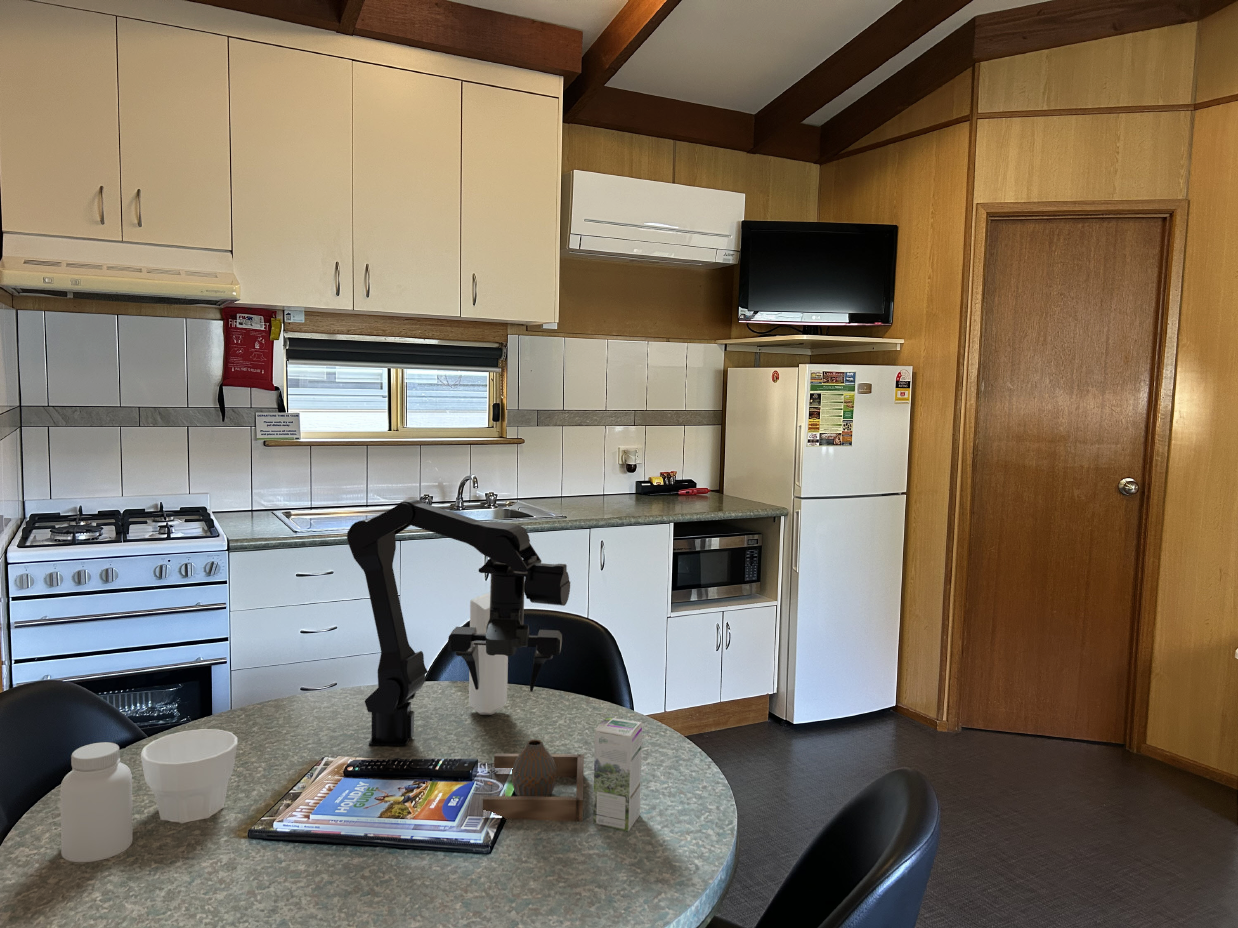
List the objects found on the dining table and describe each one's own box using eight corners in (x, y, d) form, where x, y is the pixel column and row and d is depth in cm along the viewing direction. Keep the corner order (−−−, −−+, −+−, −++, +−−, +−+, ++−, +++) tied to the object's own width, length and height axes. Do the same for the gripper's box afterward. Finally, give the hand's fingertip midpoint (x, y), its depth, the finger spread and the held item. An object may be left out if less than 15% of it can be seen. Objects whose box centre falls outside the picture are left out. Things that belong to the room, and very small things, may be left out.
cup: (183, 795, 131) (182, 724, 130) (256, 805, 129) (256, 733, 128) (120, 835, 119) (119, 758, 118) (200, 847, 116) (199, 768, 116)
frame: (482, 822, 125) (482, 798, 125) (494, 774, 141) (494, 753, 141) (582, 823, 126) (582, 800, 125) (583, 775, 142) (583, 754, 141)
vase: (554, 808, 130) (555, 752, 129) (508, 807, 130) (509, 750, 129) (558, 787, 137) (559, 734, 136) (514, 786, 137) (515, 732, 136)
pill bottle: (82, 885, 107) (79, 767, 106) (49, 865, 111) (46, 752, 110) (145, 857, 114) (143, 746, 113) (112, 839, 118) (110, 732, 117)
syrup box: (641, 814, 129) (643, 720, 128) (628, 833, 123) (631, 734, 122) (605, 807, 131) (607, 714, 129) (591, 826, 125) (593, 728, 124)
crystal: (463, 722, 163) (465, 597, 161) (469, 709, 170) (471, 588, 168) (503, 723, 163) (505, 598, 161) (507, 709, 170) (509, 589, 168)
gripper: (442, 609, 138) (440, 705, 139) (559, 614, 138) (556, 709, 139) (455, 593, 149) (452, 681, 150) (563, 597, 149) (560, 685, 150)
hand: (504, 689), depth 147 cm, fingers open, 9 cm apart
